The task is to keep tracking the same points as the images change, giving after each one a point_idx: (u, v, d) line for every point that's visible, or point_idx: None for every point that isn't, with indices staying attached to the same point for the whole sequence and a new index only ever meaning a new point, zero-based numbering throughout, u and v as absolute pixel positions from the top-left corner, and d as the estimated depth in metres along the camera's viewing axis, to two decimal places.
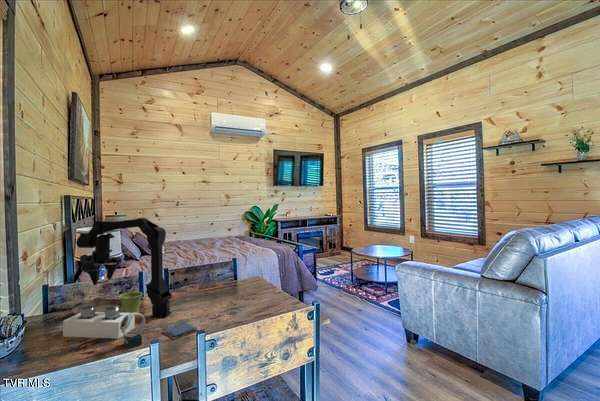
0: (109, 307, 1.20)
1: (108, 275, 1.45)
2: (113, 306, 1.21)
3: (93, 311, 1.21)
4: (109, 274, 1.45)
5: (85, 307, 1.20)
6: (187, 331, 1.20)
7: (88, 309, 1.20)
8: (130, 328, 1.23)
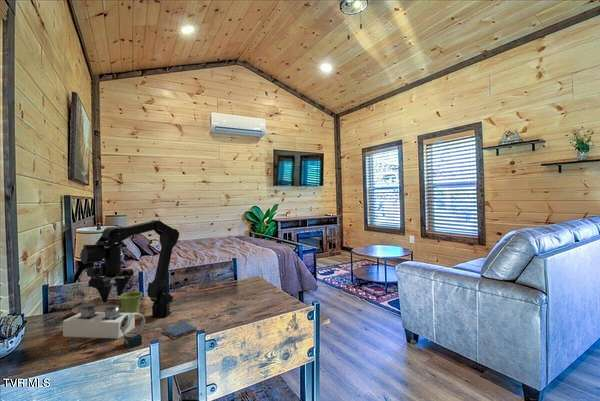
0: (109, 307, 1.20)
1: (118, 290, 1.25)
2: (113, 306, 1.21)
3: (93, 311, 1.21)
4: (119, 289, 1.25)
5: (85, 307, 1.20)
6: (187, 331, 1.20)
7: (88, 309, 1.20)
8: (130, 328, 1.23)
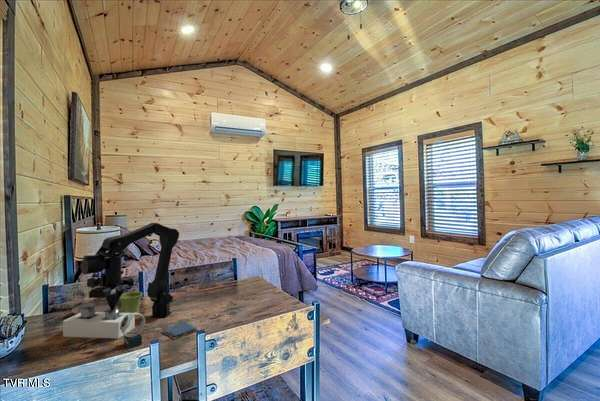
0: (109, 309, 1.20)
1: None
2: (113, 309, 1.21)
3: (93, 311, 1.21)
4: None
5: (85, 307, 1.20)
6: (187, 331, 1.20)
7: (88, 309, 1.20)
8: (130, 328, 1.23)
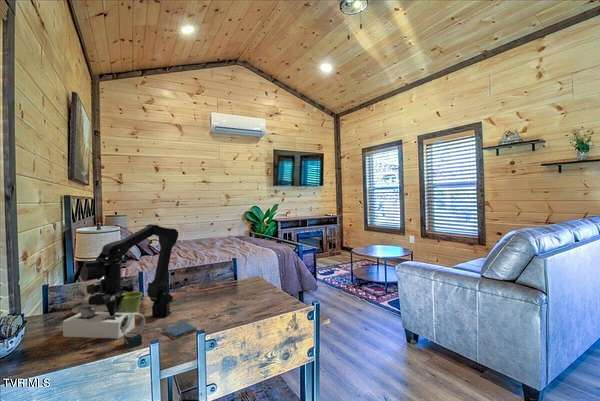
0: (109, 317, 1.20)
1: None
2: (113, 316, 1.21)
3: (93, 311, 1.21)
4: None
5: (85, 307, 1.20)
6: (187, 331, 1.20)
7: (88, 309, 1.20)
8: (130, 328, 1.23)
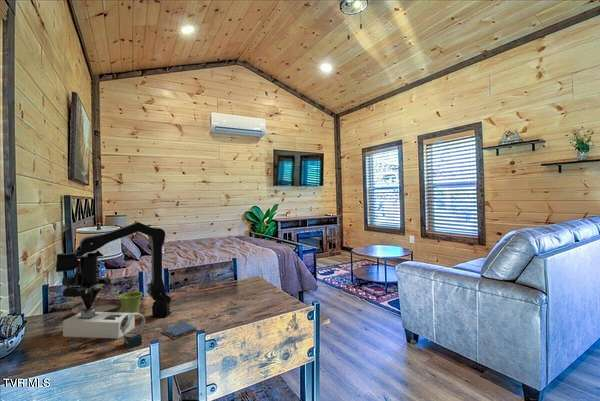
0: (109, 317, 1.20)
1: None
2: (113, 316, 1.21)
3: (93, 313, 1.21)
4: None
5: (85, 309, 1.20)
6: (187, 331, 1.20)
7: (88, 311, 1.20)
8: (130, 328, 1.23)
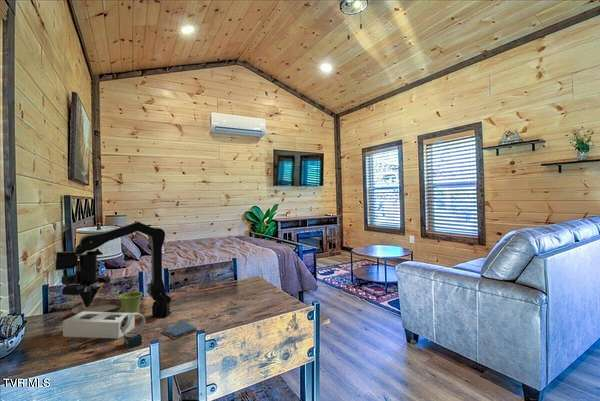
0: (109, 317, 1.20)
1: None
2: (113, 316, 1.21)
3: None
4: None
5: (85, 317, 1.20)
6: (187, 331, 1.20)
7: None
8: (130, 328, 1.23)
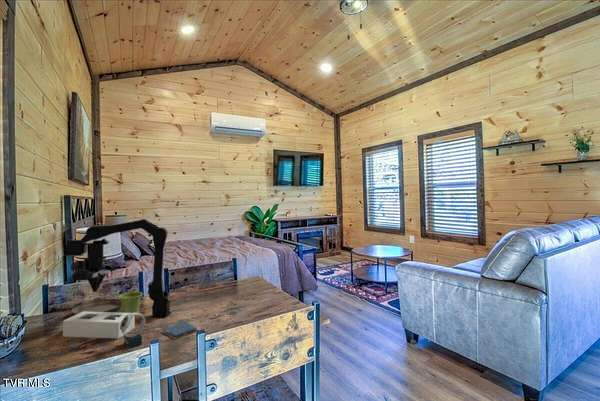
0: (109, 317, 1.20)
1: None
2: (113, 316, 1.21)
3: None
4: None
5: (85, 317, 1.20)
6: (187, 331, 1.20)
7: None
8: (130, 328, 1.23)
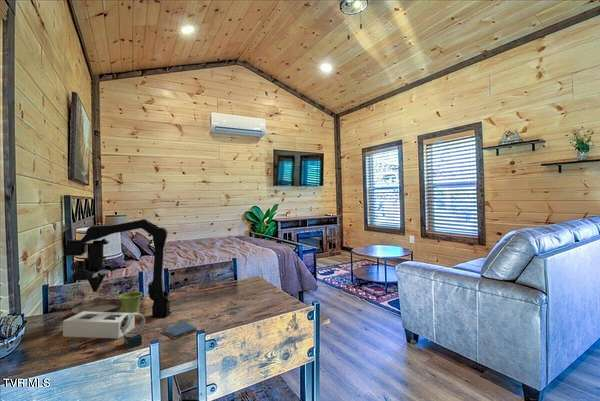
0: (109, 317, 1.20)
1: None
2: (113, 316, 1.21)
3: None
4: None
5: (85, 317, 1.20)
6: (187, 331, 1.20)
7: None
8: (130, 328, 1.23)
